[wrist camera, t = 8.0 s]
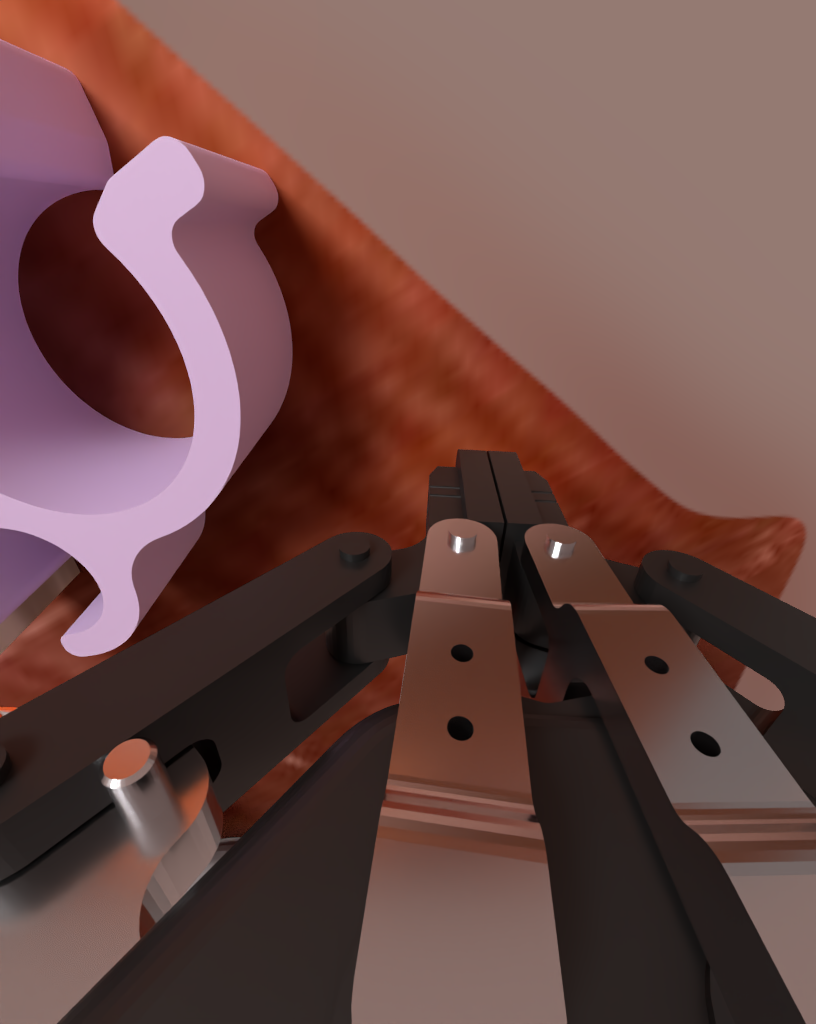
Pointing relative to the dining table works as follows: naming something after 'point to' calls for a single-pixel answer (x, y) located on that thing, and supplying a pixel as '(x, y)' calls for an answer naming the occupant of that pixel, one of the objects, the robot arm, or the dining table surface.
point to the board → (36, 603)
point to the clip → (190, 316)
